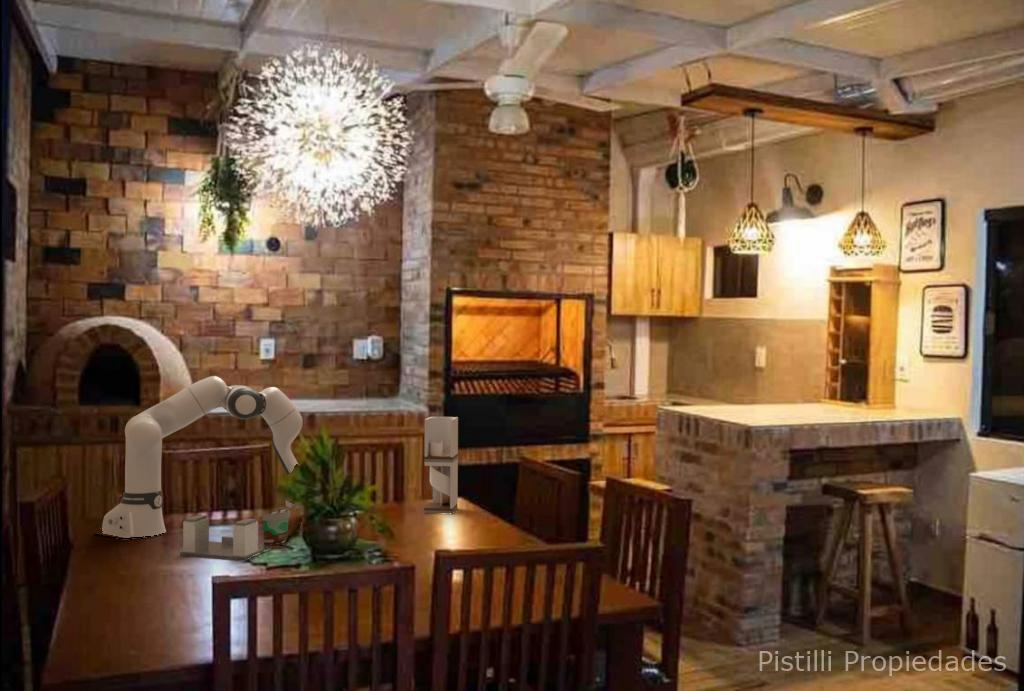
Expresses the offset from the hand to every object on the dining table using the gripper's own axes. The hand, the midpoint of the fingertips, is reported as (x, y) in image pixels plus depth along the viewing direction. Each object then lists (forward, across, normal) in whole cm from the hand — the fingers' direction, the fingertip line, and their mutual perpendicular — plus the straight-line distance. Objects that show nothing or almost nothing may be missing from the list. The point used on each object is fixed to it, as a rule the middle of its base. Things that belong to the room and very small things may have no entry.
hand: (304, 506), depth 306 cm
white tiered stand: (-48, +31, +10) cm, 58 cm away
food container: (+15, 0, +9) cm, 18 cm away
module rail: (+33, -8, +8) cm, 35 cm away
